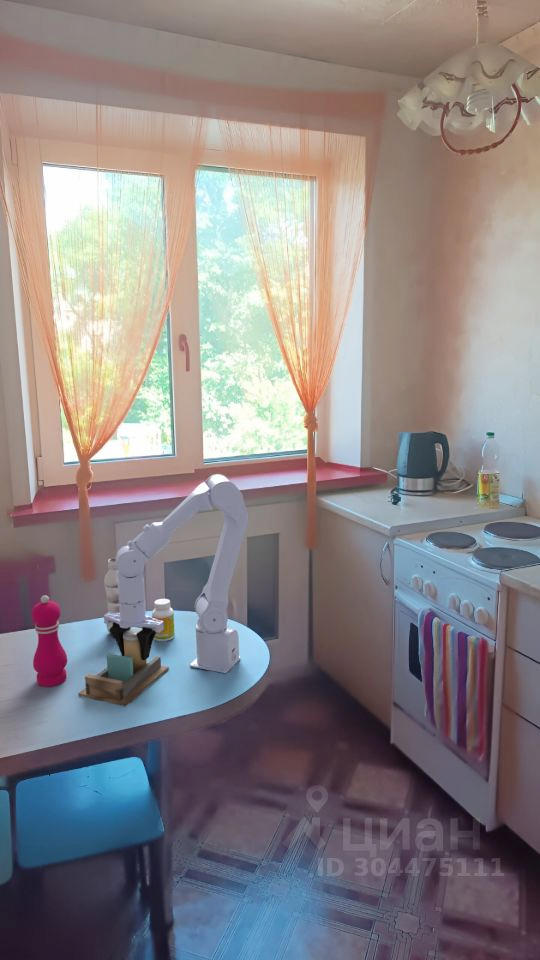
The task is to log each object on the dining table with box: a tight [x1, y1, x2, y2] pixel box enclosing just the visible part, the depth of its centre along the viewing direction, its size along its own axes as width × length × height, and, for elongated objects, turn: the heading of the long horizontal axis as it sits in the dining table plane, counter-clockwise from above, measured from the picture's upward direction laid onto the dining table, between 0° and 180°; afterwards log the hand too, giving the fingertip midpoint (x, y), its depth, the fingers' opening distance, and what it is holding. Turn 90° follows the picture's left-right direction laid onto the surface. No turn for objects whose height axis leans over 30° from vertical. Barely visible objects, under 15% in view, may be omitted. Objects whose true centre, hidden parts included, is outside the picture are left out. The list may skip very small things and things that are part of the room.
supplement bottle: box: [151, 598, 176, 642], centre depth 165 cm, size 5×5×10 cm
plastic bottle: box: [103, 557, 133, 636], centre depth 167 cm, size 6×7×20 cm
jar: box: [123, 628, 148, 672], centre depth 146 cm, size 5×5×8 cm
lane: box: [77, 655, 170, 707], centre depth 143 cm, size 12×17×4 cm
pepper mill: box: [31, 594, 68, 688], centre depth 143 cm, size 7×7×20 cm
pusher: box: [106, 653, 133, 683], centre depth 141 cm, size 6×1×6 cm, turn 68°
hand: (135, 656), depth 147 cm, fingers closed on jar, 5 cm apart
